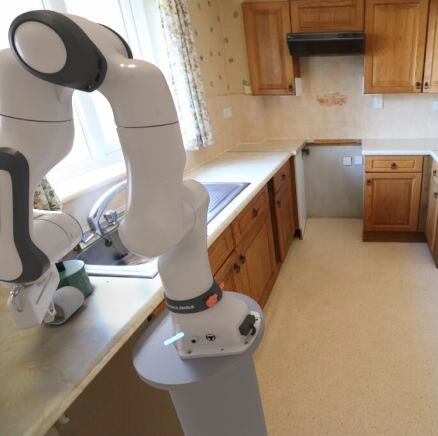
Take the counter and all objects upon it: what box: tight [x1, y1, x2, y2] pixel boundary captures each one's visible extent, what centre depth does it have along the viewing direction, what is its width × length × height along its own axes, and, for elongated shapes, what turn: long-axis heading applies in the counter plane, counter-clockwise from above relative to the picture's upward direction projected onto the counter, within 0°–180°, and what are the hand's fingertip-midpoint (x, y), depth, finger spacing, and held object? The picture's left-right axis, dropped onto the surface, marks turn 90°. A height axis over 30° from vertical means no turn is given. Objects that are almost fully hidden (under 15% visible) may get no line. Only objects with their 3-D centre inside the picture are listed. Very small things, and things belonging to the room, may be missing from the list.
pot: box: [56, 267, 94, 298], centre depth 95 cm, size 10×10×8 cm
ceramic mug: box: [42, 286, 85, 326], centre depth 87 cm, size 11×8×8 cm
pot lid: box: [55, 258, 85, 280], centre depth 93 cm, size 11×11×4 cm
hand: (51, 318), depth 78 cm, fingers closed
